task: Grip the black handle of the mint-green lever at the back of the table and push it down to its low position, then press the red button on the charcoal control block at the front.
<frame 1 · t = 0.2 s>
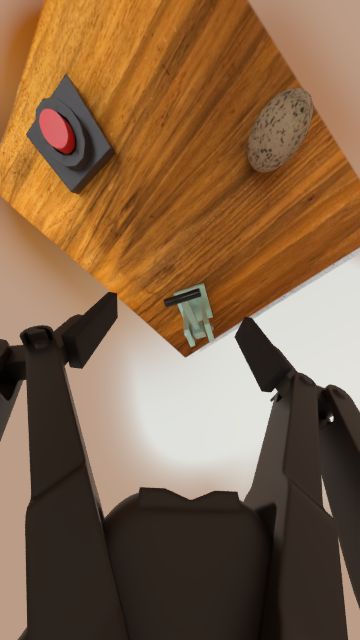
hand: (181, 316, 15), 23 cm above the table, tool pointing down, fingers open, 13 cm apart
control block: (77, 147, 25), on the table
lever: (192, 318, 25), point 15 cm above the table, hinge at 30.0°
decorative egg: (260, 150, 25), on the table
bracket: (193, 304, 40), on the table
button: (58, 132, 21), point 5 cm above the table, slide at 0.2 cm
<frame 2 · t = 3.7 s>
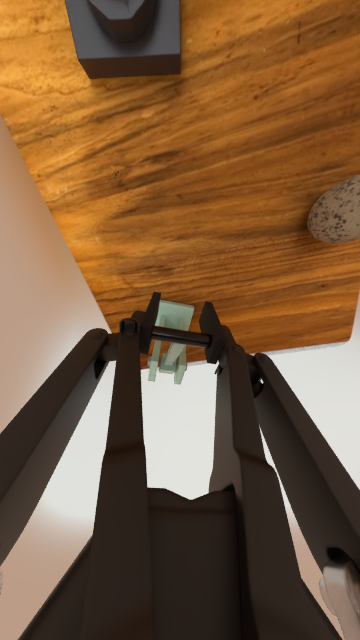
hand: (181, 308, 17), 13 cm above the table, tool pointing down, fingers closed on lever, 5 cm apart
control block: (126, 3, 14), on the table
lever: (171, 355, 18), point 15 cm above the table, hinge at 30.0°, touching gripper
decorative egg: (318, 214, 23), on the table
bracket: (171, 322, 33), on the table
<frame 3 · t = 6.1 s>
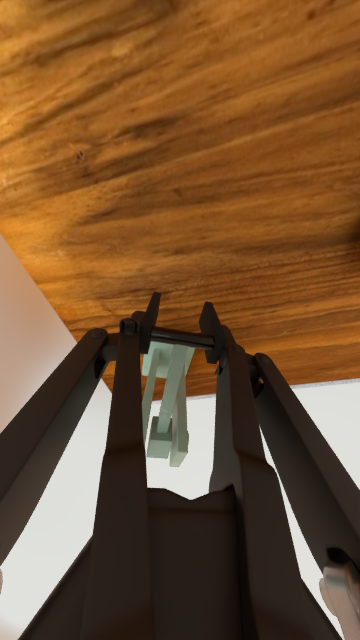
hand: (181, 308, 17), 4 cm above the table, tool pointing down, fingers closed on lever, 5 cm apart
lever: (168, 397, 14), point 11 cm above the table, hinge at -12.1°, touching gripper
bracket: (167, 354, 26), on the table
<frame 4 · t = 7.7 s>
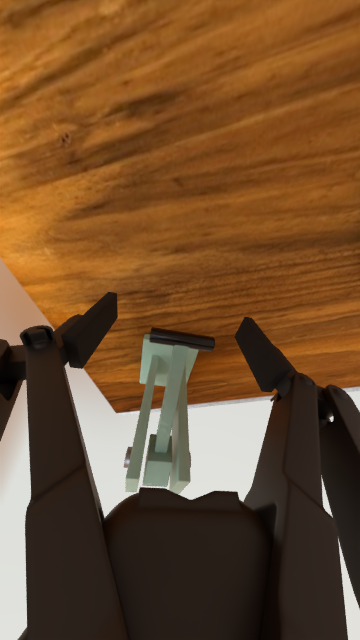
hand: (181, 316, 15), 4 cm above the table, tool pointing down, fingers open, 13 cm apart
lever: (168, 408, 13), point 10 cm above the table, hinge at -20.8°
bracket: (167, 361, 24), on the table
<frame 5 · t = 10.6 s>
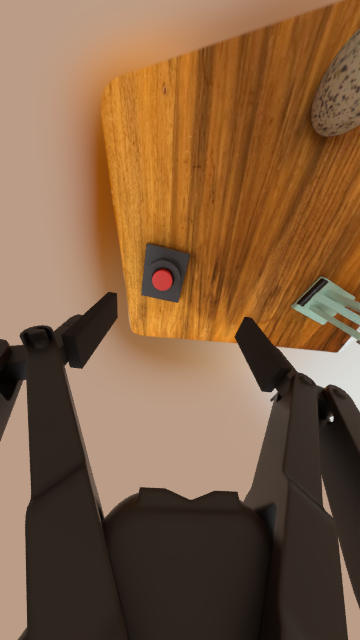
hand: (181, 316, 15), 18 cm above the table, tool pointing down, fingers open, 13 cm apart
control block: (165, 273, 31), on the table
lever: (347, 313, 24), point 10 cm above the table, hinge at -20.8°
decorative egg: (324, 110, 20), on the table
bracket: (319, 301, 34), on the table
button: (162, 279, 27), point 5 cm above the table, slide at 0.2 cm
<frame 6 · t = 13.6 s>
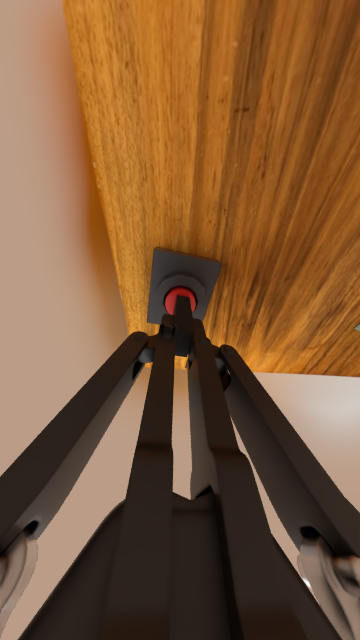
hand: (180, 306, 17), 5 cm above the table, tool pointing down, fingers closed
control block: (180, 290, 21), on the table
button: (180, 301, 18), point 4 cm above the table, slide at -0.6 cm, touching gripper
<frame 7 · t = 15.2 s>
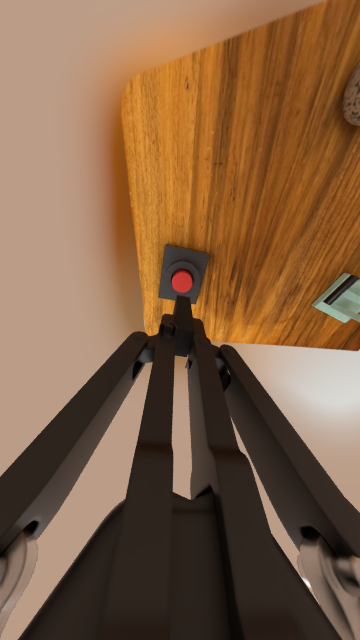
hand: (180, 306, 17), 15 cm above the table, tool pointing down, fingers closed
control block: (182, 274, 30), on the table
decorative egg: (354, 98, 19), on the table
bracket: (342, 298, 33), on the table
button: (182, 281, 26), point 5 cm above the table, slide at 0.2 cm
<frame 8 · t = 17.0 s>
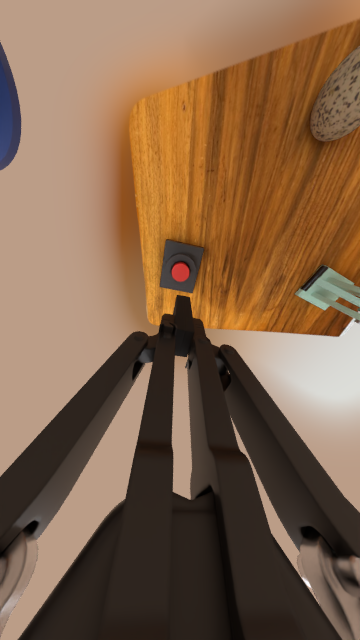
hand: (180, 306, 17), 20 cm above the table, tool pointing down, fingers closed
control block: (180, 266, 34), on the table
lever: (345, 295, 28), point 10 cm above the table, hinge at -20.8°
decorative egg: (321, 118, 23), on the table
bracket: (321, 288, 37), on the table
button: (180, 271, 31), point 5 cm above the table, slide at 0.2 cm
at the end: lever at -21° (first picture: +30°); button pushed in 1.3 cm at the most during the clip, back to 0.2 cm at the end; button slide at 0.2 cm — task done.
